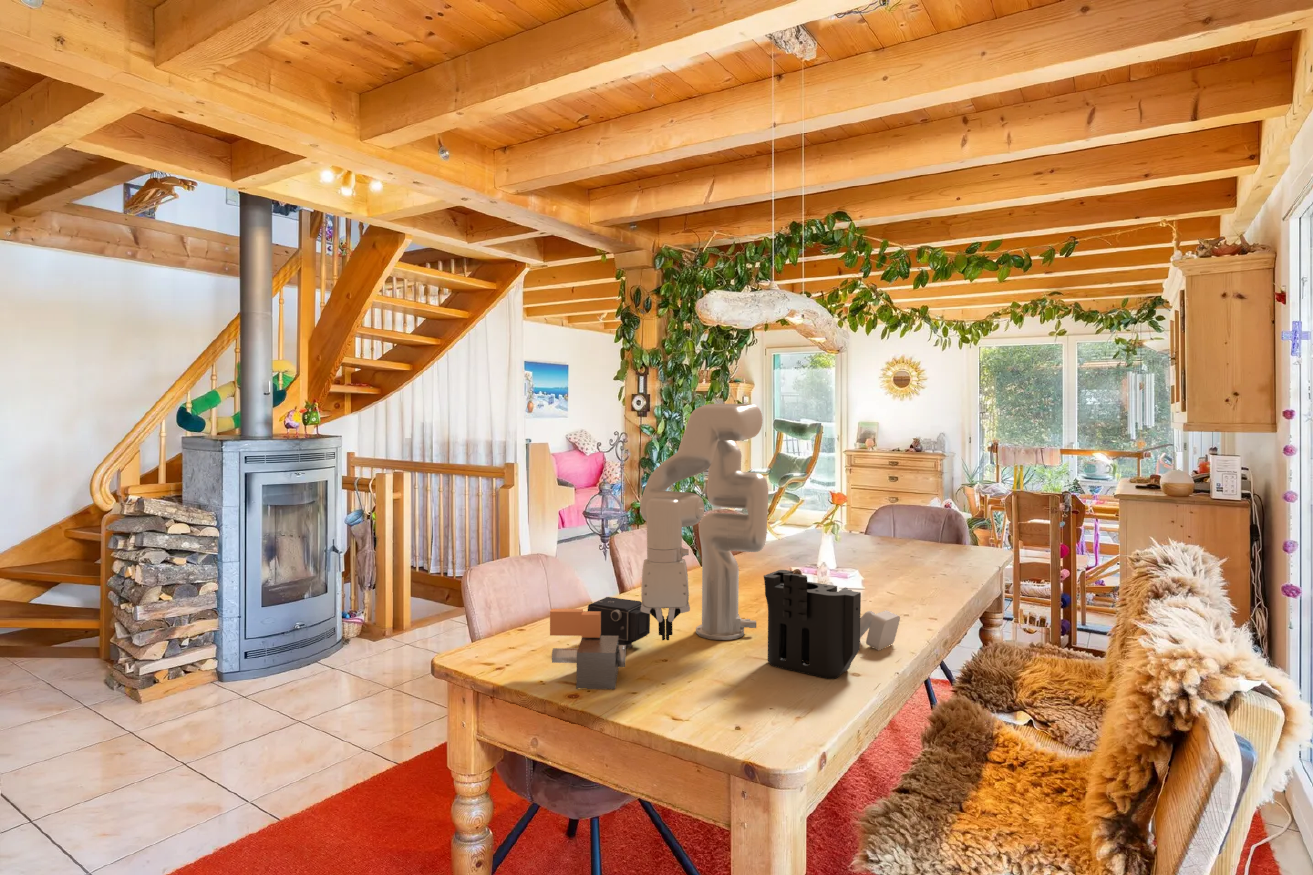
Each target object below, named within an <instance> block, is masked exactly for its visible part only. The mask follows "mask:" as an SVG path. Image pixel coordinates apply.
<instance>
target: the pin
mask: <svg viewBox="0 0 1313 875" xmlns="http://www.w3.org/2000/svg"><path fill="white" fill-rule="evenodd" d="M626 649H627V648H626V645H618V649H617V650H616V663H617V667H618V668H626V661H627V660H626V656H627V655H626V654H627V653H626V652H627V650H626ZM577 650H578V648H576V647H575V648H573V647H572V648H569V647H567V648H563V647H562V648H561V647H560V648H559V647H558V648H557V647H556V648H555V647H554V648H552V652H551V663H553V664H554V663H555V664H556V663H557V664H558V663H559V664H561V663H562V664H577Z"/></svg>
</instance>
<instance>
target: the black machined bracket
mask: <svg viewBox="0 0 1313 875" xmlns="http://www.w3.org/2000/svg"><path fill="white" fill-rule="evenodd" d="M763 582H764V595H765V599H766V604H767V605H766V606H767V662H768V664H769V665H771V666H772V667H775V668H780V669H784V670H788V671H793V672H797V673H801V674H806V675H810V676H815V677H819V678H822V679H823V678H824V679H827V680H828V679H829V680H831V679H832V680H834V679H837V678H838V677H840V676H841V675H842V674H844V673H845V672H846V671H848V670H849V669H850V667H851V664H852V663H853V661H854V659H855V658H856V656H857V655H858V653H859V651H860V650H861V638H860V618H861V602H862V600H861V598H862V595H861V594H862V593H861V592H860V591H854V590H852V589H849V588H848V587H847V586H846V587H843V588H842V589H840V590H838V585H835V584H828V583H826V584H825V583H820V582H812V581H808V576H807V575H803V574H798V573H794V572H793V570H789V569H788V570H787V569H778V570H776V571H773V572H772V571H771V572H770V573H767V574H764V575H763ZM805 662H808V664H806V663H805Z"/></svg>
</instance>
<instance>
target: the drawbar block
mask: <svg viewBox="0 0 1313 875" xmlns="http://www.w3.org/2000/svg"><path fill="white" fill-rule="evenodd" d="M618 645H619V636H600V638H585V637H582V636H581V640H580V641H579V645H578V650H577V663H576V689H577V688H587V689H586V690H616V685H617V680H618V674H619V667H617V663H616V650H617V649H618Z"/></svg>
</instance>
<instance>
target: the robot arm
mask: <svg viewBox="0 0 1313 875" xmlns="http://www.w3.org/2000/svg"><path fill="white" fill-rule="evenodd" d="M763 419H764V418H763V413H762V410H761V409H760V407H759V406H758V405H756V404H753V403H708V404H704V405H701V406H699V407H696V408H695V409H694V410H693V411H692V412H691V413H690V416H689V418H688V421H687V424H686V426H685V429H684V432H683V435H682V438H681V441H680V443H679V447H678V449H677V451H676V453H674V454H673V455H671V456H670V457H668V458H667V459H665V460H664V461H663V462H662V463H661V464H660V465H658V466H657V468H655V469H654V470H653V471H652V473H650V475H649V477H648V479H647V481H646V484H645V488H644V490H643V492H642V496H641V500H640V507H639V508H640V509H639V510H640V511H639V512H640V515H641V517H642V519H643V520H644V521H646V559H644V560H643V562H642V569H641V570H642V572H641V591H640V592H641V595H640V596H641V602H642V604H641V609H640V610H641V612H644V613H648V614H650V616H652V617H653V618H655V620H656V621H657V623H658V636H661V641H670V636H673V622H674V620H675V619H676V618H677V617H678V616H679V615H680V614H683V613H687V612H690V610H691V607H690V603H689V598H690V597H689V596H690V594H689V592H690V591H689V577H688V576H689V575H688V567H687V561H686V559H684V557H685V556H689V553H690V552H689V548H684V547H683V543H682V542H683V538H682V537H683V528H685V527H686V528H687V527H693V526H695V525H697V524H698V534H699V535H698V536H699V542H700V547H701V559H702V560H701V567H702V568H701V570H702V571H701V572H702V573H701V576H702V577H701V579H702V580H701V624H699V625H697V626H696V628H695V634H696V635H698V636H699V637H701V638H704V639H707V640H713V641H714V640H715V641H730V640H736V639H739V638H742V637H743V636H744V634H745V628H749V629H757V620H753V619H751V618H742V617H741V616H740V613H739V589H740V587H739V585H740V584H739V582H740V581H739V578H740V577H739V574H740V572H739V570H740V569H739V564H738V561H737V559H736V558H735V555H733V553H732V552H733V551H734V552H744V553H758V552H761V551H762V550H763V549H764V548H765V545H766V541H767V531H768V530H767V529H768V515H769V514H768V512H769V511H768V509H769V485H768V481H767V479H766V477H765V475H762V474H761V473H758V472H752V471H751V472H750V471H749V472H748V471H747V472H746V471H742V452H741V449H740V448H739V445H738V444H737V442H741V441H747V440H749V439H752V438H755V437H756V436H758V434H759V433H760V432H761V430H762V426H763ZM707 470H708V472H707V492H706V494H707V495H706V496H707V501H708V503H709V504H710V505H712V506H713V507H717V508H725V509H740V510H742V509H743V510H744V509H745V510H746V512H747V514H746V513H745V514H744V513H743V514H742V513H735V512H734V513H733V512H732V513H731V512H712V513H711V512H709V513H708V514H706V515H704V514H705V504H704V500H703V498H702V497H701V496H700V495H698V493H697V494H696V493H694V492H689V491H688V492H687V491H671V490H667V489H669V488H670V487H671V486H672V485H674V484H676V483H678V482H680V481H682V480H685V479H689V478H691V477H695V476H697V475H699V474H702V473H704V472H706V471H707ZM662 609H668V614H667V616H666V618H665V616H664V615H663V610H662Z"/></svg>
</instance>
